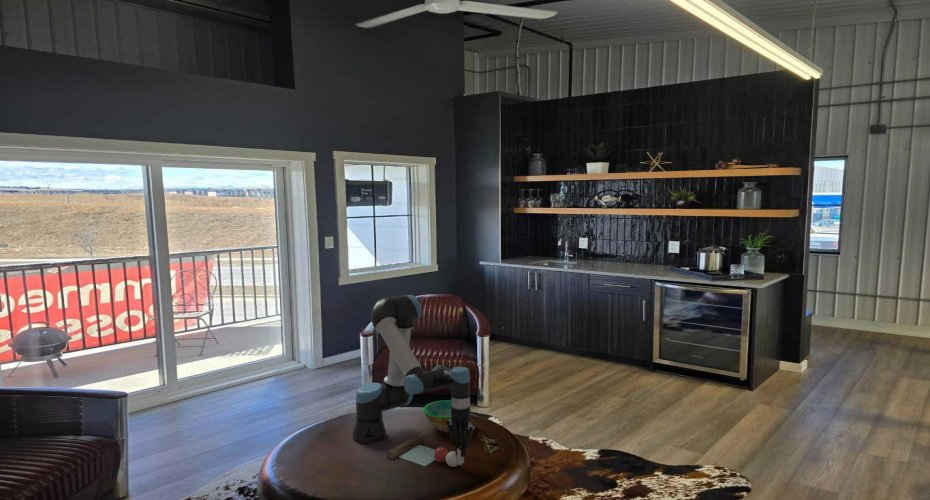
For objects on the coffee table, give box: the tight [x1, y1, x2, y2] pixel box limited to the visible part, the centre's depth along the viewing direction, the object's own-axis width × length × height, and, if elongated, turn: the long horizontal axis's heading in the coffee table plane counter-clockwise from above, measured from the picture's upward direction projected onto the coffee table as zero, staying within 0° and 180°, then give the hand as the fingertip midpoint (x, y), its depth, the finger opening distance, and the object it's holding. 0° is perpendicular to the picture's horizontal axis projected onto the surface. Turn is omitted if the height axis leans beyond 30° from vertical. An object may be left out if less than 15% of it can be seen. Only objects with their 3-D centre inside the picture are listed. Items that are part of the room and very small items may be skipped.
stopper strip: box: [386, 435, 423, 460], centre depth 243 cm, size 2×20×2 cm, turn 146°
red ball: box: [434, 446, 449, 464], centre depth 232 cm, size 6×6×6 cm
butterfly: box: [477, 432, 505, 456], centre depth 247 cm, size 18×4×10 cm
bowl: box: [422, 399, 472, 433], centre depth 264 cm, size 22×22×10 cm
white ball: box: [445, 450, 459, 468], centre depth 229 cm, size 6×6×6 cm
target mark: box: [398, 444, 436, 467], centre depth 238 cm, size 14×14×1 cm
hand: (460, 463), depth 227 cm, fingers closed
